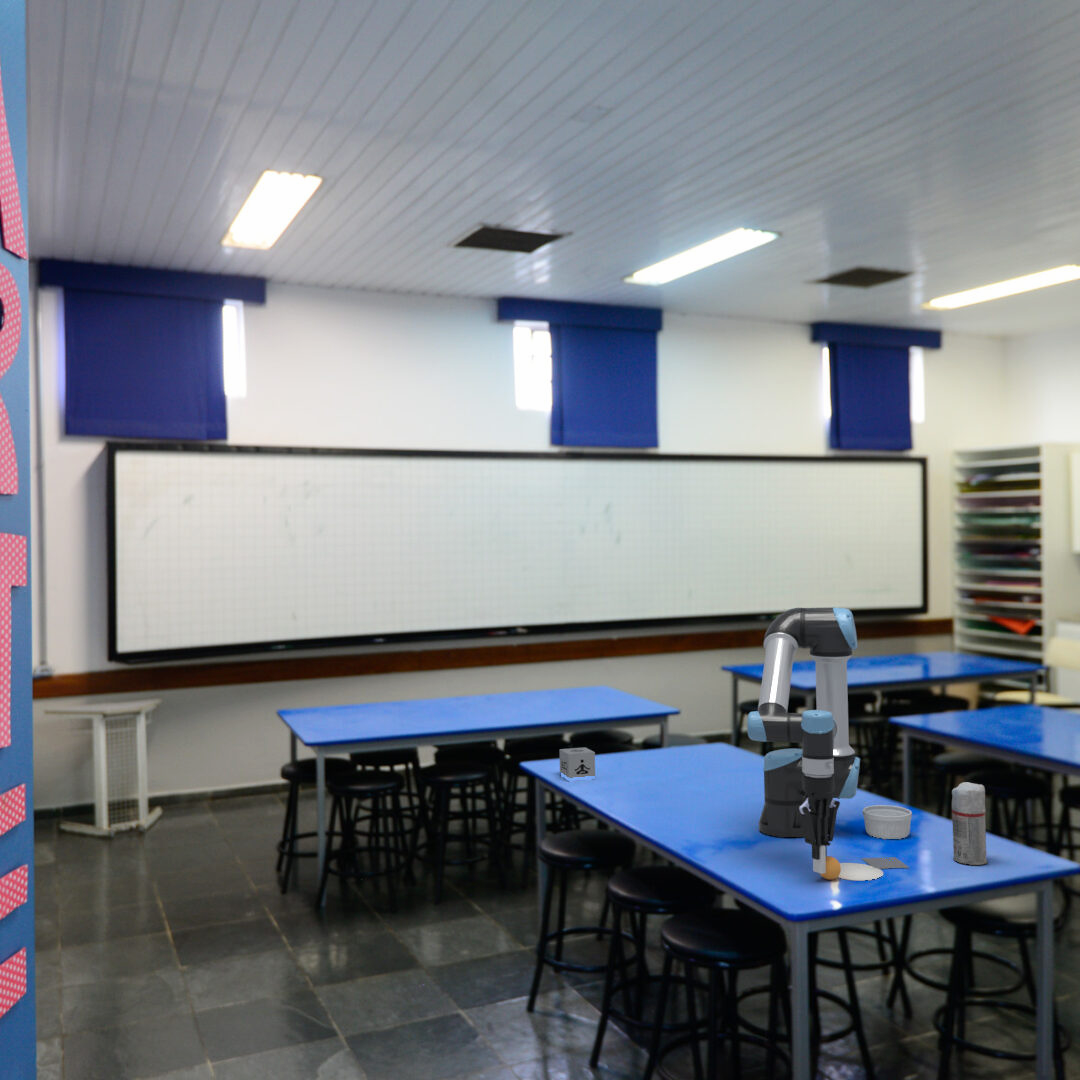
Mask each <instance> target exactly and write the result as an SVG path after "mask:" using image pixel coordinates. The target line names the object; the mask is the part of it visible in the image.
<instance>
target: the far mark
mask: <svg viewBox="0 0 1080 1080" xmlns="http://www.w3.org/2000/svg"><path fill="white" fill-rule="evenodd" d="M885 858H886V859H885ZM887 858H889V859H887ZM882 859H883V860H882ZM861 860H862V861H863V860H864V861H863V862H865V863H866V865H868V864H869V865H870V866H872V867H876V868H878V869H880V870H890V869H889V868H904V869H910V867H909V866H908V865H907V864H905V863H904V862H903V861H901V860H900V859H898V858H897V857H896V856H894V857H893V856H891V857H862V858H861ZM889 860H890V861H889ZM892 860H893V861H892ZM874 869H875V868H874Z"/></svg>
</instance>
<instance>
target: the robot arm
mask: <svg viewBox="0 0 1080 1080" xmlns="http://www.w3.org/2000/svg"><path fill="white" fill-rule="evenodd" d="M857 639H858V636H857V629H856V625H855V620H854V615H853V613H852V611H851V610H850V609H848V608H843V607H834V606H833V607H793V608H790V609H787V610H786V611H784V612H782V613H781V614H779V615H778V616H776V618H775V619H774V620H773V621H772V622H771V623H770V625H769V626H768V628H767V629H766V632H765V634H764V638H763V649H764V650H765V657H764V663H763V664H764V665H763V672H762V678H761V679H762V680H761V686H760V692H759V699H758V705H757V710H755V711H750V712H749V713H748V714H747V715H748V716H747V723H746V728H747V730H746V732H747V736H748V738H749V740H751V741H757V742H765V743H766V742H767V743H770V742H772V743H793V744H801V747H802V748H792V747H791V748H783V749H777V750H776V749H775V750H773V751H769V752H768V753H766V754H765V755H764V758H763V768H762V769H763V788H764V789H763V791H764V804H763V807H762V811H761V815H760V818H759V821H758V831H759V830H760V831H761V832H762V833H761V832H760V831H759V832H760V833H761V834H763V833H765V834H764V835H766V834H767V836H770V835H772V836H771V837H775V836H777V838H784V837H797V838H804V843H806V844H809V845H810V846H811V857H812V871H813V872H815V873H818V874H820V873H821V874H823V873H826V856H828V853H827V852H828V850H827V848H828V847H829V846H831V842H832V841H833V840H834V836H835V828H836V824H837V823H836V821H837V814H838V810H839V807H840V805H841V802H840V799H843V800H844V799H848V800H849V799H853V798H854V797H856V794H857V791H858V790H857V789H858V782H859V773H860V765H861V764H860V763H861V758H860V757H858V756H855V755H856V753H855V749H853V748H852V747H851V745H850V741H849V740H850V739H849V736H850V735H849V732H850V731H849V701H848V700H849V699H848V664H847V663H848V661H849V660H850V659H851V658H852V656H853V651H854V650H857V649H858V640H857ZM799 649H803V650H804V649H806V650H807V649H809V656H810V657H811V658H812V660H814V661H815V694H816V696H815V698H816V699H815V701H816V709H810V710H809V709H808V710H804V711H803V712H802V713H801V712H800V713H799V712H797V713H795V712H788V708H789V701H790V700H789V699H790V692H791V691H790V690H791V682H792V674H793V664H794V663H793V662H794V657H795V655H796V654H797V652H799V651H798V650H799ZM836 799H837V800H836Z"/></svg>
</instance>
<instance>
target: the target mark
mask: <svg viewBox="0 0 1080 1080" xmlns="http://www.w3.org/2000/svg"><path fill="white" fill-rule="evenodd" d="M839 863H840V866H841V872H840V874H839V876H838V877H837V879H840V878H841V879H840V880H847V881H857V882H858V881H859V882H860V881H861V882H862V881H863V882H864V881H865V880H868V881H873V880H872V879H875V880H878V879H877V878H879V877H881V876H882V877H883V876H884V871H883V870H882V869H878V868H876V867H872V866H870V865H868V864H864V863H857V862H856V863H855V862H839ZM874 868H875V869H874ZM882 877H881V878H882ZM879 879H880V878H879Z"/></svg>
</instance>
